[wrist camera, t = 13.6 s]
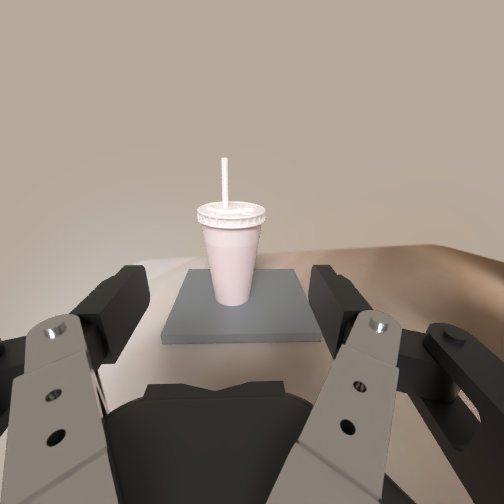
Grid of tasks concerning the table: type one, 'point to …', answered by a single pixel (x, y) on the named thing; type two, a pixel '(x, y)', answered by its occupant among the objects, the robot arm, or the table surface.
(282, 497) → the robot arm
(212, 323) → the metal board
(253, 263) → the smoothie
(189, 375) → the table surface
